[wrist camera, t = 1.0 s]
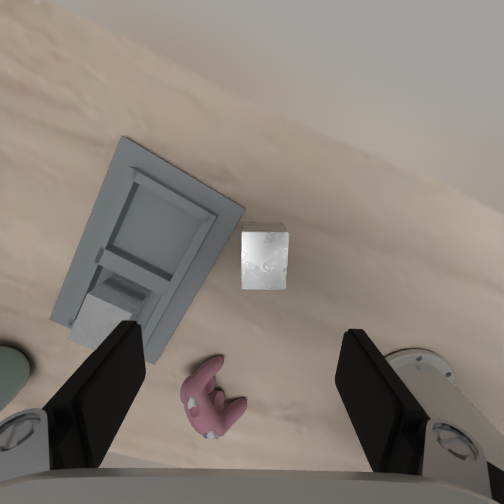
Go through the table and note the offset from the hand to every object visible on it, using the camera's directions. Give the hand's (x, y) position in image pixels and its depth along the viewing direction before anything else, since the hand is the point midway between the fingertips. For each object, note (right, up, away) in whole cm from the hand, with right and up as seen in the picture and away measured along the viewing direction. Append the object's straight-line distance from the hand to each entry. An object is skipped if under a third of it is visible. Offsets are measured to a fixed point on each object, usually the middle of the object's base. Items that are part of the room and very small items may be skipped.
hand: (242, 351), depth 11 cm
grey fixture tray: (-12, +3, +17) cm, 21 cm away
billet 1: (-15, -1, +17) cm, 23 cm away
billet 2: (+2, +5, +17) cm, 18 cm away
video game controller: (-5, -14, +23) cm, 28 cm away
